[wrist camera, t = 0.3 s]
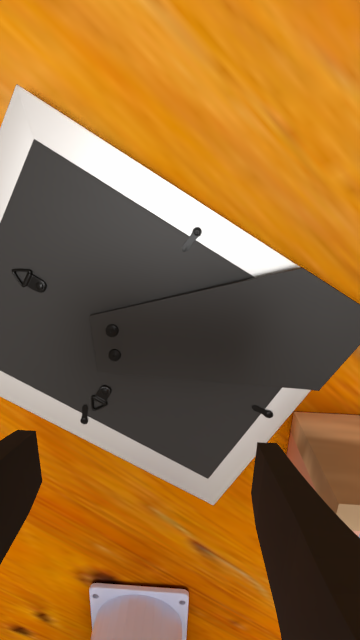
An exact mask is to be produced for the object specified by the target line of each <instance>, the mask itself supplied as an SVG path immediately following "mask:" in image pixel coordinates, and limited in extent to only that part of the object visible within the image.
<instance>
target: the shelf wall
mask: <svg viewBox="0 0 360 640" xmlns="http://www.w3.org/2000/svg"><path fill="white" fill-rule="evenodd" d="M291 434H292V436H293V438H294V441H295V443H296V445H297V448H298V450H299V452H300V454H301V457H302V459H303V461H304V464H305V466H306V468H307V471H308V473H309V475H310V478H311V480H312V482H313V485H314V487H315V489H316V492H317V493H318V494H319V496H320V497H321V498H322V499H323V500H324V501H325V502H326V504H327V505H328V506H329V507H330V508H331V509H332V510H333V511H334V512H335V513H336V514H337V515H338V517H339V518H340V519H341V520H342V521H343V522H344V523H345V524H346V525H347V526H348V527H349V528H350V529H351V530H352V531H360V415H348V414H329V413H311V412H294V413H293V420H292V426H291Z"/></svg>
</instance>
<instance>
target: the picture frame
mask: <svg viewBox="0 0 360 640" xmlns="http://www.w3.org/2000/svg"><path fill="white" fill-rule="evenodd" d="M359 345H360V304H358V303H356V302H355V301H353V300H352V299H350V298H349V297H347V296H346V295H344V294H343V293H341V292H339V291H338V290H336V289H335V288H333V287H332V286H330V285H329V284H327V283H325V282H324V281H322V280H321V279H319V278H318V277H316V276H315V275H313V274H312V273H310V272H308V271H307V270H305V269H304V268H302V267H300V266H298V265H297V264H295V263H294V262H292V261H291V260H289V259H287V258H286V257H284V256H283V255H281V254H280V253H278V252H277V251H275V250H273V249H272V248H270V247H269V246H267V245H266V244H264V243H263V242H261V241H260V240H258V239H256V238H255V237H253V236H252V235H250V234H249V233H247V232H246V231H244V230H242V229H241V228H239V227H238V226H236V225H235V224H233V223H232V222H230V221H228V220H227V219H225V218H224V217H222V216H221V215H219V214H218V213H216V212H215V211H213V210H211V209H210V208H208V207H207V206H205V205H204V204H202V203H201V202H199V201H197V200H196V199H194V198H193V197H191V196H190V195H188V194H187V193H185V192H184V191H182V190H180V189H179V188H177V187H176V186H174V185H173V184H171V183H170V182H168V181H166V180H165V179H163V178H162V177H160V176H159V175H157V174H156V173H154V172H152V171H151V170H149V169H148V168H146V167H145V166H143V165H142V164H140V163H139V162H137V161H135V160H134V159H132V158H131V157H129V156H128V155H126V154H125V153H123V152H121V151H120V150H118V149H117V148H115V147H114V146H112V145H111V144H109V143H108V142H106V141H104V140H103V139H101V138H100V137H98V136H97V135H95V134H94V133H92V132H90V131H89V130H87V129H86V128H84V127H83V126H81V125H80V124H78V123H77V122H75V121H73V120H72V119H70V118H69V117H67V116H66V115H64V114H63V113H61V112H59V111H58V110H56V109H55V108H53V107H52V106H50V105H49V104H47V103H45V102H44V101H42V100H41V99H39V98H38V97H36V96H35V95H33V94H32V93H30V92H28V91H27V90H25V89H24V88H22V87H21V86H19V85H18V84H16V87H15V89H14V92H13V95H12V98H11V100H10V103H9V106H8V109H7V111H6V114H5V117H4V119H3V122H2V125H1V128H0V396H1V397H2V398H4V399H6V400H8V401H10V402H12V403H14V404H16V405H18V406H20V407H22V408H24V409H26V410H28V411H30V412H32V413H34V414H36V415H38V416H40V417H42V418H44V419H45V420H47V421H49V422H51V423H53V424H55V425H57V426H59V427H61V428H63V429H65V430H67V431H69V432H71V433H73V434H75V435H77V436H79V437H81V438H83V439H85V440H87V441H89V442H90V443H92V444H94V445H96V446H98V447H100V448H102V449H104V450H106V451H108V452H110V453H112V454H114V455H116V456H118V457H120V458H122V459H124V460H126V461H128V462H130V463H132V464H133V465H135V466H137V467H139V468H141V469H143V470H145V471H147V472H149V473H151V474H153V475H155V476H157V477H159V478H161V479H163V480H165V481H167V482H169V483H171V484H173V485H175V486H176V487H178V488H180V489H182V490H184V491H186V492H188V493H190V494H192V495H194V496H196V497H198V498H200V499H202V500H204V501H206V502H208V503H210V504H212V505H214V504H215V503H216V502H217V501H218V499H219V498H220V497H221V496H222V495H223V494H224V492H225V491H226V490H227V489H228V488H229V487H230V485H231V484H232V483H233V482H234V481H235V479H236V478H237V477H238V476H239V475H240V474H241V472H242V471H243V470H244V469H245V468H246V466H247V465H248V464H249V463H250V462H251V461H252V459H253V458H254V457H255V456H256V449H257V442H261V443H267V442H268V440H269V439H270V438H271V437H272V436H273V435H274V433H275V432H276V431H277V430H278V429H279V428H280V426H281V425H282V424H283V423H284V422H285V420H286V419H287V418H288V417H289V416H290V415H291V413H292V412H293V411H294V410H295V409H296V407H297V406H298V405H299V404H300V403H301V402H302V400H303V399H304V398H305V397H306V396H307V394H308V393H309V392H310V391H311V390H318V391H319V390H320V389H321V388H322V386H323V385H324V384H325V383H326V382H327V381H328V380H329V379H330V377H331V376H332V375H333V374H334V373H335V372H336V371H337V370H338V369H339V367H340V366H341V365H342V364H343V363H344V362H345V361H346V360H347V359H348V357H349V356H350V355H351V354H352V353H353V352H354V351H355V350H356V348H357V347H358V346H359Z"/></svg>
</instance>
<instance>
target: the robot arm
mask: <svg viewBox="0 0 360 640" xmlns="http://www.w3.org/2000/svg"><path fill="white" fill-rule="evenodd" d="M41 483H42V476H41V468H40V461H39V453H38V445H37V438H36V431H25V430H17V431H15V432H13V433H12V434H10V435H9V436H7V437H5V438H4V439H2V440H1V441H0V564H1V562H2V560H3V559H4V557H5V555H6V553H7V552H8V550H9V548H10V546H11V545H12V543H13V541H14V539H15V537H16V536H17V534H18V532H19V530H20V528H21V527H22V525H23V523H24V521H25V519H26V518H27V516H28V514H29V512H30V509H31V507H32V505H33V502H34V500H35V498H36V495H37V493H38V490H39V488H40V485H41ZM251 494H252V502H253V510H254V518H255V525H256V530H257V534H258V538H259V542H260V547H261V551H262V555H263V559H264V563H265V567H266V571H267V575H268V580H269V584H270V588H271V592H272V596H273V600H274V604H275V608H276V612H277V617H278V622H279V627H280V632H281V638H282V640H360V538H359V537H358V536H357V535H356V534H355V533H354V532H353V531H352V530H351V529H350V528H349V527H348V526H347V525H346V524H345V523H344V522H343V521H342V520H341V519H340V518H339V517H338V515H337V514H336V513H335V512H334V511H333V510H332V509H331V508H330V507H329V506H328V505H327V504H326V502H325V501H324V500H323V499H322V498H321V497H320V496H319V494H318V493H317V492H316V491H315V490H314V489H313V487H312V486H311V485H310V484H309V483H308V482H307V480H306V479H305V478H304V477H303V476H302V474H301V473H300V472H299V471H298V469H297V468H296V467H295V466H294V464H293V463H292V462H291V461H290V459H289V458H288V457H287V455H286V454H285V453H284V452H283V450H282V449H281V448H280V447H279V445H278V444H277V443H261V442H257V449H256V458H255V466H254V475H253V483H252V491H251ZM89 595H90V607H91V620H92V636H91V640H186V636H187V620H188V603H189V592H188V591H187V590H185V589H175V588H161V587H147V586H133V585H119V584H105V583H93V584H91V586H90V590H89Z"/></svg>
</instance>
